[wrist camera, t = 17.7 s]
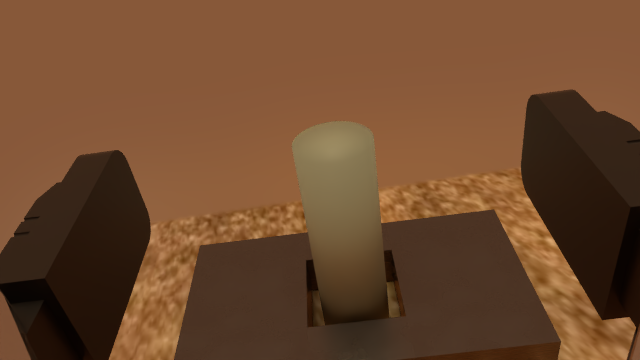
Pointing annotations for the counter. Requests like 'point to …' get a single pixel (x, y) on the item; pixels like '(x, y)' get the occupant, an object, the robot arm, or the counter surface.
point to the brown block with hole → (382, 334)
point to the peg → (343, 219)
